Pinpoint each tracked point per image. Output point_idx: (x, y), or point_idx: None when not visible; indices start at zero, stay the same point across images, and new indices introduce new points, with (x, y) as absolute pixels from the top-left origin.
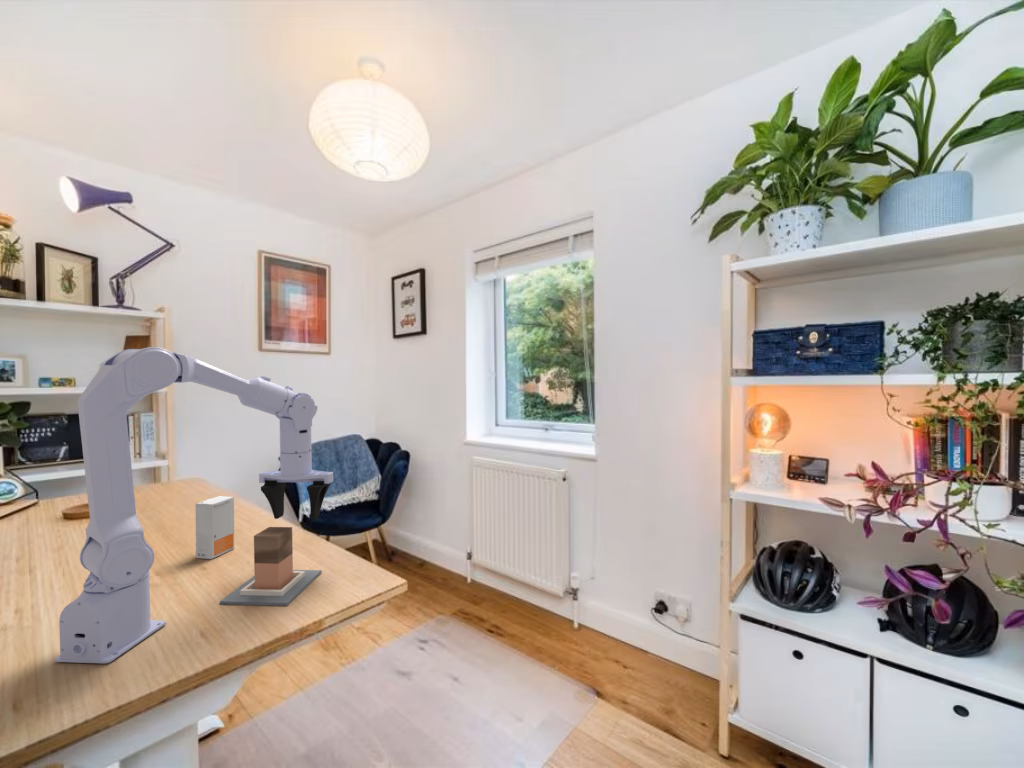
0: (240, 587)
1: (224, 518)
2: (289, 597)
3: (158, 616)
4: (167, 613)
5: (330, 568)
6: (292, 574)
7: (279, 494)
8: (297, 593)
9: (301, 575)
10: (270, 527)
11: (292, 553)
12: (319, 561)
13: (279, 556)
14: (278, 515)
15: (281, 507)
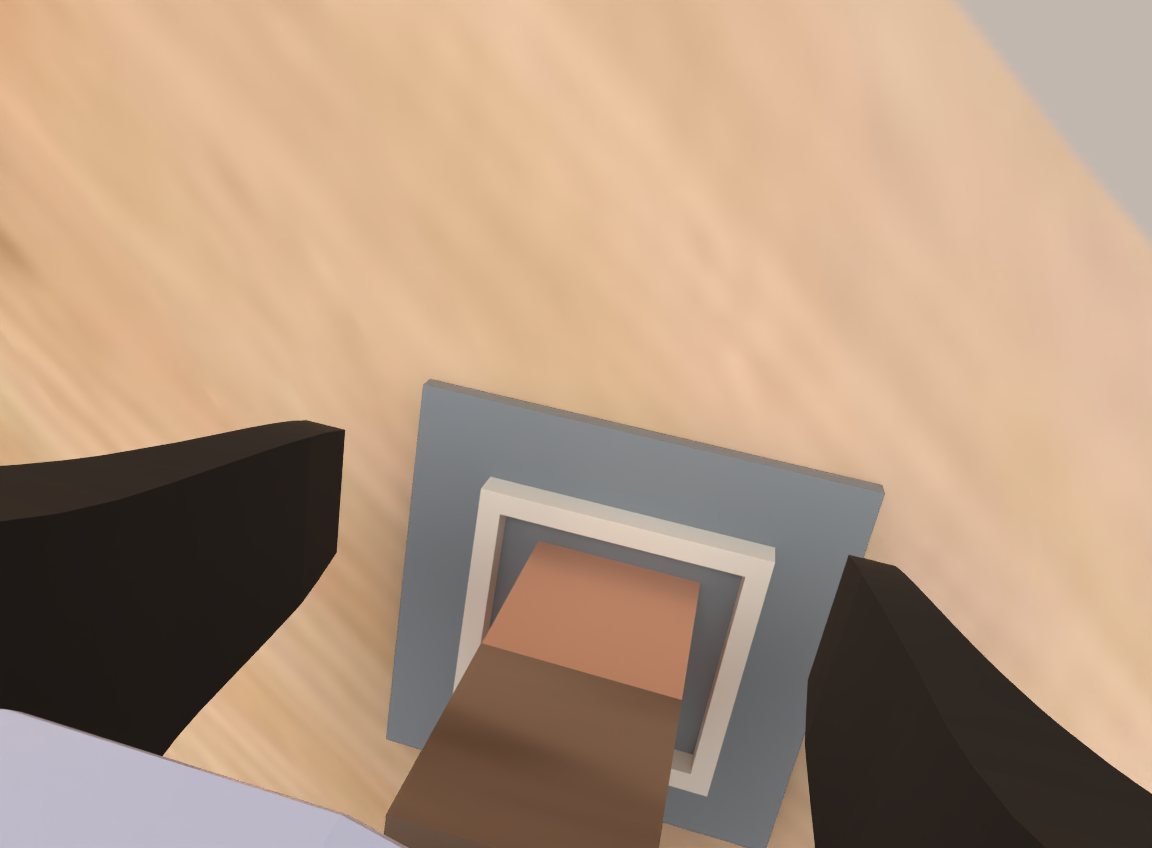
0: (410, 615)
1: None
2: (759, 804)
3: (186, 757)
4: (205, 743)
5: (941, 418)
6: (696, 604)
7: (95, 679)
8: (792, 767)
9: (761, 606)
10: (408, 835)
11: (681, 699)
12: (813, 260)
13: None
14: (320, 554)
15: (269, 514)
